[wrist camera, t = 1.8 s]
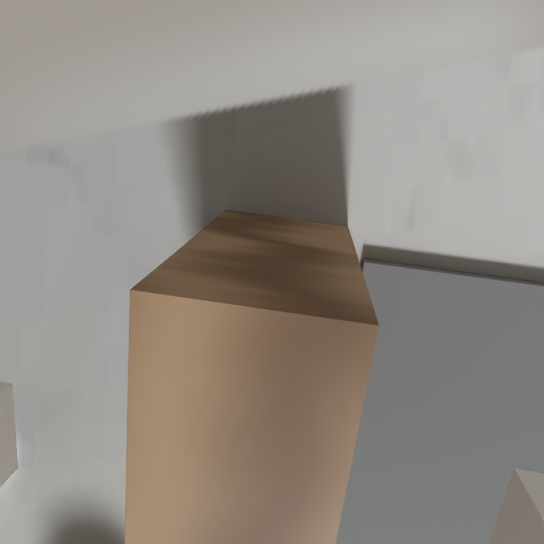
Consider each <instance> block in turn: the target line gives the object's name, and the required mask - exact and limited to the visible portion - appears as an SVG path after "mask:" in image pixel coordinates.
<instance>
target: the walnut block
mask: <svg viewBox="0 0 544 544" xmlns="http://www.w3.org/2000/svg"><path fill="white" fill-rule="evenodd" d="M378 329H379V324H378V320H377V317H376V314H375V311H374V308H373V304H372V301H371V298H370V295H369V292H368V288H367V285H366V282H365V279H364V276H363V273H362V269H361V266H360V263H359V260H358V257H357V253H356V250H355V247H354V244H353V241H352V238H351V234H350V231H349V228H348V226H342V225H334V224H327V223H319V222H311V221H304V220H296V219H289V218H281V217H273V216H266V215H258V214H250V213H243V212H235V211H227V210H226V211H225V212H223V213H222V214H221V215H220V216H219V217H217V218H216V219H215V220H214V221H213V222H211V223H210V224H209V225H208V226H207V227H205V228H204V229H203V230H202V231H201V232H199V233H198V234H197V235H196V236H195V237H193V238H192V239H191V240H190V241H188V242H187V243H186V244H185V245H184V246H182V247H181V248H180V249H179V250H178V251H176V252H175V253H174V254H173V255H172V256H170V257H169V258H168V259H167V260H166V261H164V262H163V263H162V264H161V265H159V266H158V267H157V268H156V269H155V270H153V271H152V272H151V273H150V274H149V275H147V276H146V277H145V278H144V279H143V280H141V281H140V282H139V283H138V284H137V285H135V286H134V287H133V288H132V289H131V290H130V315H129V363H128V410H127V457H126V505H125V544H335V543H336V538H337V533H338V528H339V523H340V518H341V513H342V508H343V503H344V498H345V493H346V488H347V483H348V478H349V473H350V468H351V463H352V458H353V453H354V448H355V443H356V439H357V434H358V429H359V424H360V419H361V414H362V409H363V404H364V399H365V394H366V389H367V384H368V379H369V374H370V369H371V364H372V359H373V354H374V349H375V344H376V339H377V334H378Z"/></svg>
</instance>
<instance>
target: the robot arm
mask: <svg viewBox="0 0 544 544" xmlns="http://www.w3.org/2000/svg"><path fill="white" fill-rule="evenodd" d="M17 468H18V463H17V448H16V434H15V419H14V405H13V390H12V384H9V383H3V382H0V487H1V486H2V485H3V484H4V482H5V481H6V480H7V479H8V478H9V477H10V476H11V475H12V474H13V473H14V472H15V470H16V469H17ZM489 544H544V473H539V472H533V471H527V470H522V469H516V468H514V471H513V474H512V477H511V480H510V483H509V486H508V489H507V492H506V495H505V498H504V501H503V504H502V507H501V510H500V513H499V516H498V519H497V522H496V525H495V528H494V531H493V534H492V537H491V540H490V543H489Z"/></svg>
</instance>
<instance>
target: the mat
mask: <svg viewBox="0 0 544 544" xmlns="http://www.w3.org/2000/svg"><path fill="white" fill-rule="evenodd" d="M362 273H363V276H364V279H365V282H366V285H367V288H368V292H369V295H370V298H371V301H372V304H373V308H374V311H375V314H376V317H377V320H378V324H379V329H378V334H377V339H376V344H375V349H374V354H373V359H372V364H371V369H370V374H369V379H368V384H367V389H366V394H365V399H364V404H363V409H362V414H361V419H360V424H359V429H358V434H357V439H356V443H355V448H354V453H353V458H352V463H351V468H350V473H349V478H348V483H347V488H346V493H345V498H344V503H343V508H342V513H341V518H340V523H339V528H338V533H337V538H336V543H335V544H489V543H490V540H491V537H492V534H493V531H494V528H495V525H496V522H497V519H498V516H499V513H500V510H501V507H502V504H503V501H504V498H505V495H506V492H507V489H508V486H509V483H510V480H511V477H512V474H513V471H514V468H516V469H522V470H527V471H533V472H539V473H544V283H538V282H531V281H523V280H516V279H509V278H501V277H494V276H486V275H479V274H471V273H464V272H457V271H449V270H442V269H434V268H427V267H419V266H412V265H405V264H397V263H390V262H382V261H375V260H367V259H363V264H362Z"/></svg>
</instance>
